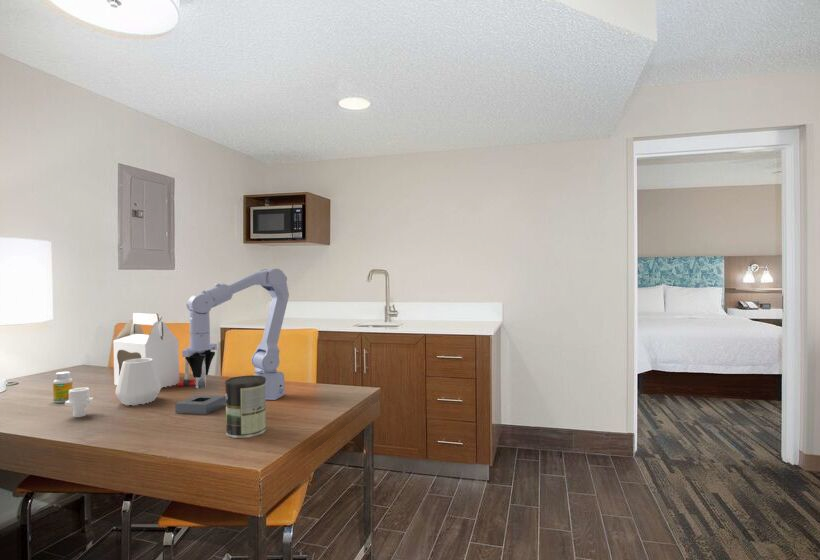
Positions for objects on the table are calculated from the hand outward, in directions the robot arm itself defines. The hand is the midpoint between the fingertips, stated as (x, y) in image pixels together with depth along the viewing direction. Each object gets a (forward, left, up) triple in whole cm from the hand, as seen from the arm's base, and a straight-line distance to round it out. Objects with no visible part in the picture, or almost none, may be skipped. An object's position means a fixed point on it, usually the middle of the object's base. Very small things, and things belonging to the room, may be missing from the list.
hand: (200, 376), depth 151 cm
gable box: (+43, -28, -11) cm, 53 cm away
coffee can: (-26, +18, -11) cm, 33 cm away
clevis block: (0, 0, -10) cm, 10 cm away
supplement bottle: (+54, -2, -11) cm, 55 cm away
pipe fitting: (+33, +12, -11) cm, 37 cm away
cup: (+27, -5, -11) cm, 29 cm away
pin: (0, 0, -3) cm, 3 cm away
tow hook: (+27, -32, -11) cm, 43 cm away
